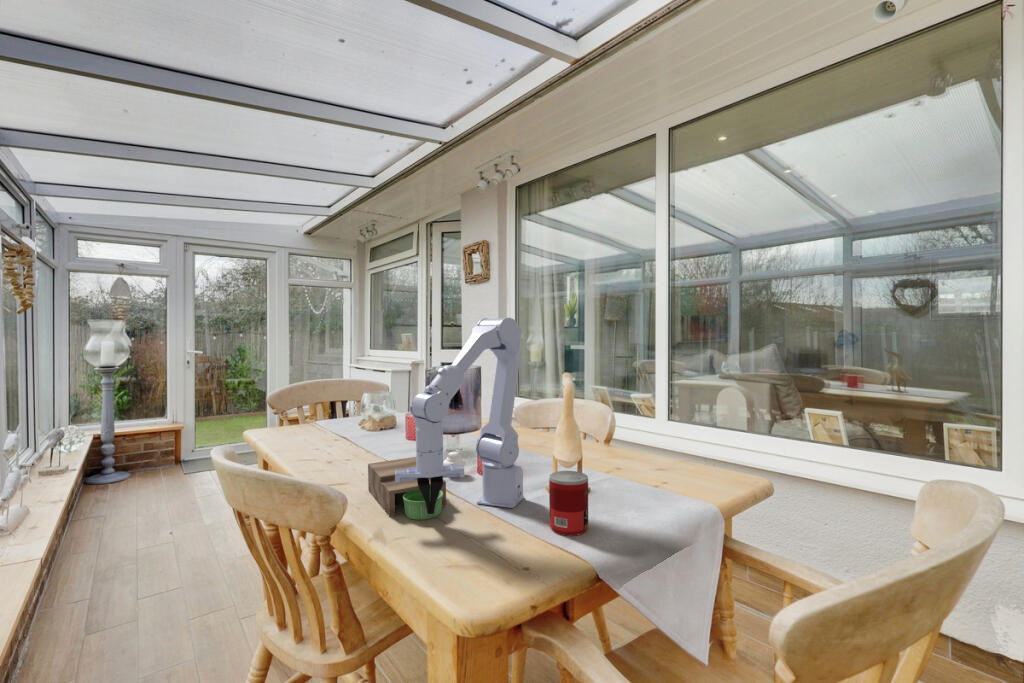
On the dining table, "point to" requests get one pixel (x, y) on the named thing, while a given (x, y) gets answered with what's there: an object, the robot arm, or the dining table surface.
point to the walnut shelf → (393, 483)
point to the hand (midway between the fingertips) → (430, 512)
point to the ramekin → (420, 505)
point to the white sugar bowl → (454, 460)
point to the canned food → (568, 502)
